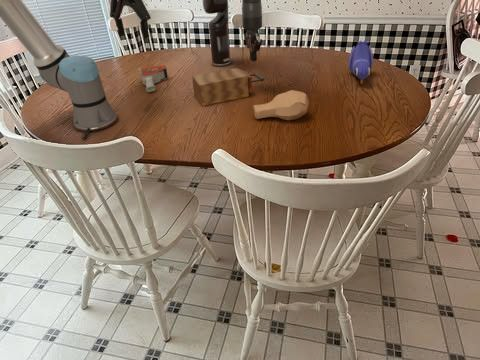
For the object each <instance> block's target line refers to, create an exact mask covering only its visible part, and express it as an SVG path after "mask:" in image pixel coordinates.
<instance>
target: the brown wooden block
mask: <svg viewBox="0 0 480 360" xmlns="http://www.w3.org/2000/svg"><path fill="white" fill-rule="evenodd" d="M241 70H242V69H240V68H239V67H235V68H234V67H233V68H230V69H224V70H219V71H212V72H207V73H202V74H195V75H192V76H191V79H192V87H193V93H194V94H193V95H194V97H195V99H196V100H197V101H198V102H199V104H200V105H201V106H202V107H204V106H208V105H214V104H219V103H222V102H228V101H231V100H232V101H233V100H237V99H242V98H247V97H249V96H250V93H249V90H248V76H247V75H246V74H245V73H244V72H242V71H241Z"/></svg>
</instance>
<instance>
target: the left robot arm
mask: <svg viewBox="0 0 480 360" xmlns="http://www.w3.org/2000/svg"><path fill="white" fill-rule="evenodd" d="M125 7H129V8H131V9H132V10H133V12H134V13H135V14H136V16H137V17H138V18H139V20H140V21H139V24H140V29H141V34H142V39H143V40H147V39H149V38H150V34H149V23H148V21H149V20H151V19H152V16H151V15H150V13H149V11H148V9H147V7H146V5H145V3H144V1H143V0H110V8H109V17H110V18H112V19H113V20H114V22H115V26H116V28H117V31H118V36H119V37H123V36H126V32H125V31H126V30H125V27H124V23H123V19H122V16H121V15H122V12H123V10H124V8H125ZM0 20H1V21H2V22H3V23H4V25H6V27H7V28H8V29H9V30H10V32H11V33H12V34H13V35H14V36H15V37H16V38H17V39H18V41H19V42H20V43H21V44H22V45H23V47H24V48H25V49H26V50H27V51H28V53H29V54H30V55H31V56H32V57H33V65H34V66H35V68H36V69H37V71H38V74H39V76H40V78H41V79H42V81H43V82H45V83H46V84H47V85H49V86H50V87H53V88H54V89H58V90H61V91H63V92H66V93H68V96H69V99H70V101H71V104H72V108H73V114H72V117H73V118H72V119H73V125H74V128H75V129H76V131H78V132H84V134H83V136H82V138H81V139H82V140H83V141H84V140H86V139H87V136H88V135H89V133H92V132H99V131H102V130H105V129H107V128H110V127H111V126H113V125H115V124H116V122H117V121H118V116H117V113H116V111H115V110H114V108H113V107H112V105H111V103H110V102H109V101H108V99H107V96H106V92H105V89H104V87H103V86H104V85H103V83H102V79H101V75H100V71H99V68H98V66H97V63H96V60H94V59H93V58H91V57H90V56H87V55H69V53H68V52H67V51H66V49H65V48H64V46H62V45H59V44H56V43H55V41H54V40H53V39H52V38H51V37H50V35H49V34H48V33H47V31H46V30H45V29H44V28H43V26H42V25H41V23H40V22H39V21H38V20H37V18H36V17H35V16H34V14H33V13H32V12H31V10H30V9H29V8H28V7H27V5H26V4H25V2H23V0H0Z"/></svg>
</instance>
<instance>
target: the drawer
mask: <svg viewBox="0 0 480 360" xmlns="http://www.w3.org/2000/svg"><path fill="white" fill-rule="evenodd" d="M240 70H241V71H242V72H244V73H245V74H246V75H247V76H248V90H249V94H251V93H253V83H256V82H264V80H265V79H264V78H263V76H261V75H260V74H258V73H257V72H254V73H252V74H249V73H248V72H246V71H245V70H243V69H240ZM253 76H254V77H255V78H256V79H253Z"/></svg>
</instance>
